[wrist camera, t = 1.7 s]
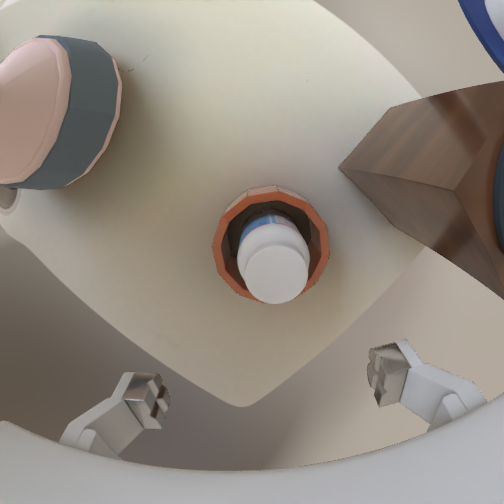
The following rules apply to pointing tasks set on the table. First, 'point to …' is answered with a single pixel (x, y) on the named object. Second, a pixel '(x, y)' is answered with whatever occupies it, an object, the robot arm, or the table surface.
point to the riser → (439, 175)
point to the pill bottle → (273, 257)
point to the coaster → (499, 198)
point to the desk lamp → (55, 111)
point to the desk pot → (221, 247)
